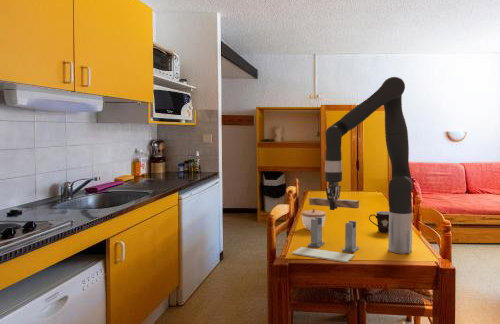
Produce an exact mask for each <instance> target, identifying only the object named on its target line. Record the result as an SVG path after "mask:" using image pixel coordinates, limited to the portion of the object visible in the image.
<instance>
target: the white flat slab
mask: <svg viewBox="0 0 500 324" xmlns="http://www.w3.org/2000/svg"><path fill="white" fill-rule="evenodd" d="M291 254H292V255H295V256H297V255H298V256H303V257H311V258H316V259H322V260H328V261H334V262H341V263H349V261H351V260H352V259H353V258H354V257H355V254H354V253H347V252H338V251H331V250H324V249H319V248H313V247H304V246H301V247H299V248H297V249H296V250H294V251H291Z"/></svg>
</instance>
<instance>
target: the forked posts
mask: <svg viewBox="0 0 500 324" xmlns="http://www.w3.org/2000/svg"><path fill="white" fill-rule="evenodd" d="M344 226H345V228H344V229H345V234H344V238H345V240H344V243H345V244H344V247H343V248H342V249H341V250H342V251H341V253H348V254H354V253H356V252H357V251H358V250H359V248H360V247H359V246H357V221H356V220H348V222H345V225H344ZM324 245H325V241H323V227H322V218H321V217H315V219H311V231H310V243H308V244H307V248H314V247H315V248H314V249H319V248H321V247H322V246H324Z"/></svg>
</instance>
